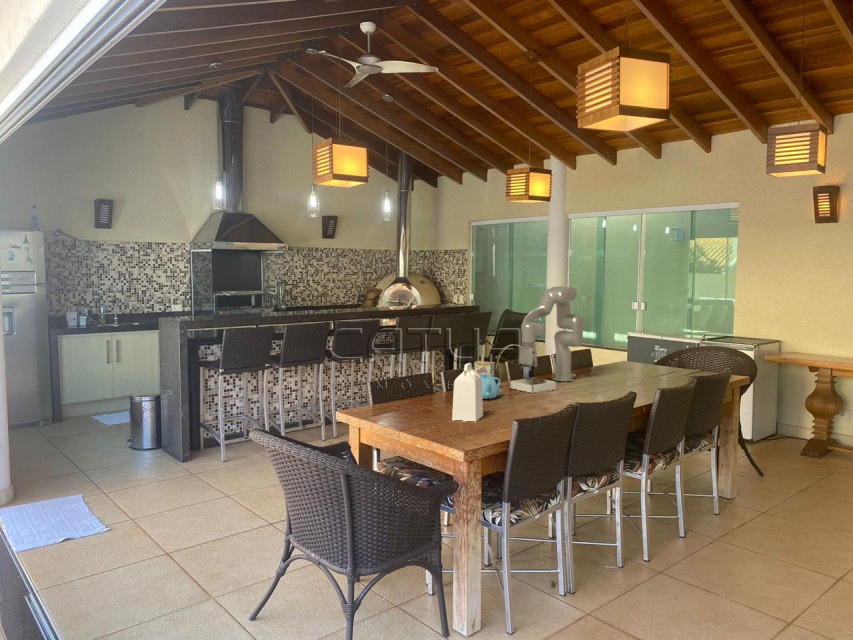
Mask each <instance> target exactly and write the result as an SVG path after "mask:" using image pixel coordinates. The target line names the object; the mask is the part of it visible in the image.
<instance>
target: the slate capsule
mask: <svg viewBox="0 0 853 640" xmlns="http://www.w3.org/2000/svg"><path fill="white" fill-rule="evenodd" d="M531 368H532V366H531ZM529 370H530V369H529V365H526V366H523V376H522V379H532V378H533V377H529Z"/></svg>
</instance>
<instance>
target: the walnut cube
mask: <svg viewBox="0 0 853 640" xmlns="http://www.w3.org/2000/svg"><path fill="white" fill-rule="evenodd" d="M534 378H535V379H533V385H537V384H543V383H545V380H546V379H545V378H541V377H534Z"/></svg>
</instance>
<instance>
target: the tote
mask: <svg viewBox="0 0 853 640" xmlns="http://www.w3.org/2000/svg"><path fill="white" fill-rule="evenodd" d="M535 378H536V377H532V379H523V378H521V379H516V380H509V389H510V388H512V389H517V390H521V391H526V392H531V393H533V392H540V391H546V390H552V389H557V388H558V387H557V386H558V382H556V381H553V380H549V379H545V383H543V384H537V385H533V379H535Z"/></svg>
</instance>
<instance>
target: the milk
mask: <svg viewBox="0 0 853 640" xmlns="http://www.w3.org/2000/svg"><path fill="white" fill-rule="evenodd" d="M452 397H453V398H452V418H451V420H452V421H455V420H463V421H462V422H466V421H475V422H474V423H477V422H478V421H479V420H480V419H479V418H481V417H482V416H483V417H484V407H483V406H484V405H483V401H484V400H483V399H482V379H481V377H480V376H479V375H478V374H477V373H476V372H475V371H474V368H473V366H472V363H471V362H468V363H466V364H464V367H463V372H462V373H460V374H459V375H458V376H457V377H456V378H455V380H454V382H453V395H452ZM483 417H482V418H483ZM482 418H481V419H482ZM478 419H479V420H478ZM477 420H478V421H477ZM476 421H477V422H476Z"/></svg>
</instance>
